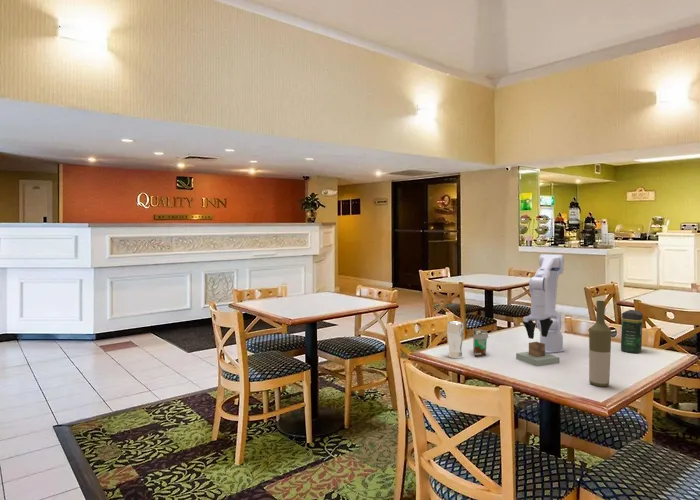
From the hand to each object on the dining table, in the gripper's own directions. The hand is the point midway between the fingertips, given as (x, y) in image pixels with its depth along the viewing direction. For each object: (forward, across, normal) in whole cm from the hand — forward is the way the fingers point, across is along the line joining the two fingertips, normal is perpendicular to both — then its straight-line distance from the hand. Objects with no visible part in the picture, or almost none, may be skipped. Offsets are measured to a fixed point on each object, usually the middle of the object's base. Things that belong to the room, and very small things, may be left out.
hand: (537, 337), depth 199 cm
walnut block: (+8, 0, 0) cm, 8 cm away
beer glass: (+10, +27, -20) cm, 35 cm away
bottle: (+10, +4, +32) cm, 34 cm away
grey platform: (+11, 0, 0) cm, 11 cm away
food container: (+10, +14, -19) cm, 26 cm away
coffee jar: (+10, -51, +7) cm, 52 cm away
